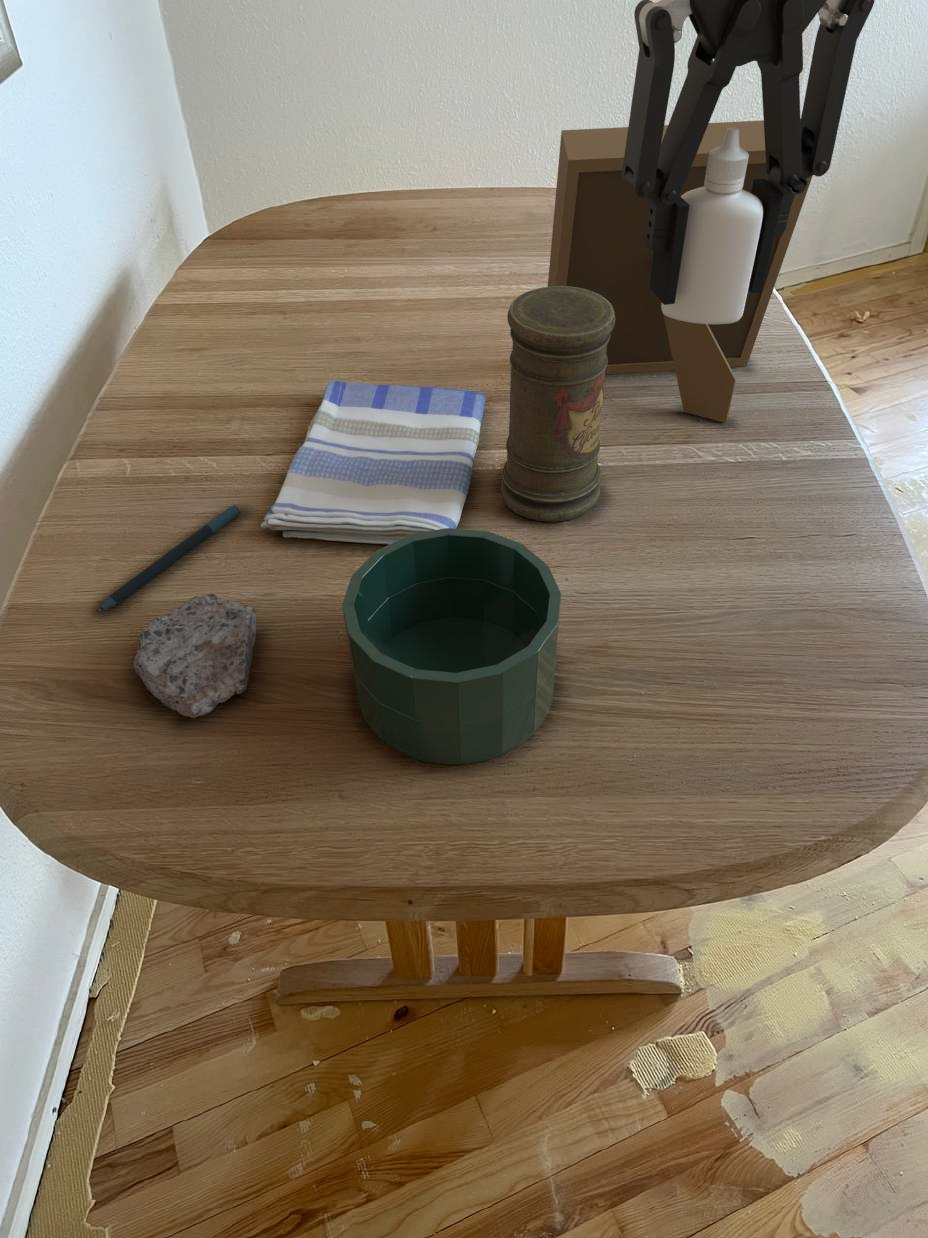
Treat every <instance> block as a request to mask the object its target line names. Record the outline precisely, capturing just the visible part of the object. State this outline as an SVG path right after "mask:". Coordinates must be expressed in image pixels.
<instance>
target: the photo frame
mask: <svg viewBox="0 0 928 1238" xmlns="http://www.w3.org/2000/svg"><path fill="white" fill-rule="evenodd" d="M800 121H801V118H800ZM668 125H669V124H664V130H663V136H662V141H663V138H664V135H665V133H666V130H667V127H668ZM729 127H737V128H739V145H740V147H741V148H742V149H744V150H746V151H747V152H748V154H749V158H748V163H747V168H746V174H745V179H744V184H743V188H742V189H743V190H745V191H747V192H749V193H751V190H752V185H753V180H754V179H762V178H764V179H766V180H767V181H768V179H769V175H768V174H767V170H766V153H765V135H764V119H763V120H748V121H747V120H745V121H744V120H743V121H726V122H724V121H722V122H721V121H720V122H709V124H708V126H707V129H706V131H705V134H704V136H703V139H702V141H701V144H700V146H699V149H698V151H697V154H696V156H695V159H694V161H693V164H692V166H691V169H690V171H689V174H688V176H687V179H686V181H685V184H684V186H683V189H682V191H681V194H680V196H682V195H683V194H685V193H686V192H688V191H691V190H693V189H696V188H700V187H704V181H705V175H706V169H707V163H708V156H709V152H710V151H711V150H712V149H714V148H717V147H719V146H721V144H722V143H723V140H724V137H725V134H726V131H727V129H728V128H729ZM560 133H561V134H560V143H559V155H558V164H557V166H558V167H557V176H556V177H557V178H556V188H555V189H556V190H555V200H554V212H553V222H552V233H551V245H550V255H549V267H548V278H547V287H552V286H570V287H577V288H582V289H586V290H589V291H592V292H595V293H597V294H599V295H601V296H602V297H604V298H605V299H607V300H608V301H609V302H610V304H611V305H612V307H613V309H614V312H615V325H614V327H613V329H612V331H611V332H610V339H609V341H608V343H607V349H606V355H607V359H608V363H607V366H606V368H605V375H617V374H632V373H633V374H634V373H648V372H650V373H651V372H666V371H667V372H668V371H674V372H675V376H676V381H677V387H678V391H679V396H680V400H681V406H682V410H683V413H687V414H691V415H695V416H699V417H705V418H708V419H713V420H716V421H721V422H724V423H726V422H728V419H729V413H730V410H731V405H732V400H733V396H734V391H735V388H736V383H737V377H736V375H735V373H734V372H733V370H732V368H734V367H735V368H736V367H747V366H748V363H749V361H750V358H751V355H752V352H753V349H754V347H755V343H756V341H757V337H758V334H759V332H760V329H761V326H762V323H763V321H764V318H765V315H766V311H767V308H768V306H769V303H770V300H771V297H772V295H773V291H774V288H775V285H776V282H777V280H778V277H779V274H780V272H781V268H782V266H783V262H784V260H785V256H786V254H787V251H788V249H789V246H790V242H791V239H792V237H793V234H794V231H795V228H796V225H797V223H798V219H799V217H800V214H801V211H802V208H803V205H804V201H805V199H806V197H807V194H808V191H809V188H810V185H811V182H812V179H813V176H811V177H809V178H807V179H806V180H807V181H808V184H807V187H806V189H805V190H804V191H803V192H802V193H800V194H798V195H794V196H793V200H792V204H791V209H790V213H789V217H788V222H787V226H786V229H785V231H784V233H783V235H782V237H776V238H774V239H773V244H772V248H771V253H770V257H769V262H768V266H767V271H766V275H765V280H764V284H763V289H762V292H755V293H751V292H750V291H749V290H748V293H747V297H746V302H745V307H744V312H743V315H742V317H741V318H740V320H739V321H737V322H734V323H729V324H698V323H690V322H685V321H680V320H677V319H673V318H670V317H668V316H666V315H664V314H663V312H662V309H661V305H662V302H661V301H660V299H659V298H658V297H657V296H656V295H655V294H654V292H653V291H652V290H651V289H650V288H649V286H650V279H651V271H652V263H653V256H654V253H653V252H652V251H651V250H650V249H649V248H648V247H647V245H646V243H645V240H644V233H645V224H646V216H647V208H648V198H647V197H645V198H640V197H639V196H637V195H636V194H635V193H634V192H633V191H632V190H631V189H630V188H629V187H628V185H627V184H626V183H625V182H624V181H623V179H622V169H623V161H624V154H625V147H626V140H627V133H628V126H623V127H622V126H621V127H620V126H619V127H603V128H602V127H601V128H599V127H598V128H582V129H581V128H580V129H579V128H578V129H562V130H561V132H560ZM661 143H662V142H661Z"/></svg>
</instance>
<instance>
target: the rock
mask: <svg viewBox="0 0 928 1238" xmlns="http://www.w3.org/2000/svg"><path fill="white" fill-rule="evenodd" d="M256 635H257V613H256V610H255V608H254V607H253V606H250V605H245V606H242V605H241V604H240V603H239V602H237V601H234V600H230V599H228V600H226V599H223V598H221V597H218V596H217V594H215V593H206V594H203V595H196V596H195V595H194V596H193V597H191V598H188V599H187V600H186V601H184V602H183V603H182V604H181V605H180V606H179V607H177V608H176V609H173V610H171V611H170V612H169V613H167V614H162V615H161V614H160V615H158V616H155V617H154V618H152V619H151V620H150V621H149V623H148V625H147V626H145V627H144V628H142V629H141V630H140V632H139V636H138V639H137V641H138V644H137V646H136V648H137V650H136V653H135V656H134V658H133V668H134V671H135V673H136V675H137V676H138V677H139V678H140V679H141V680H142V683H143V684H144V686H145V687H146V689H147V690H148V691H149V692H150V693H151V694H152V696H153V697H154V698H156V699H157V700H159V701H160V702H161V704H162V705H163V706H164V707H167V708H169V709H170V710H172V711H176V712H177V713H178V714H180V715H181V716H183V717H186V718H187V717H188V718H189V717H190V718H192V719H196V718H197V717H198V718H199V717H201V716H207V715H209V714H210V713H211V712H213V710H214V709H215V708H216V706H218V705H219V703H225V702H226V701H228V700H229V699H230V698H231V697H233V696H234V695H236V694H237V695H240V694H242V693H244V692H245V691H246V690H247V687H248V684H249V680H250V674H251V666H252V663H253V654H254V649H255V642H256V638H257V637H256Z"/></svg>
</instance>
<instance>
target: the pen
mask: <svg viewBox="0 0 928 1238" xmlns="http://www.w3.org/2000/svg"><path fill="white" fill-rule="evenodd" d="M240 513H241V509H240V507H238V505H232V506H229V507H228V508H227V509H225V510H224V511H222V512H221V513H220V514H218V515H217V516H215V517H214V518H213V519H212V520H210V521H209V522H207V523H206V524H204V525H203V526H202V527H200V528H199V529H197V531H195V532H194V533H193V534H191V535H190V536H188V537H187V538H186V539H184V540H183V541H181V542H180V543H179V544H178V545H176V546H175V547H174V548H172V549H171V550H169V551H168V552H166V553H165V554H164V555H162V556H161V557H160V558H158V559H157V560H155V561H154V562H153V563H151V564H150V565H149V566H148V567H146V568H145V569H144V570H142V571H140V572H139V573H138V574H137V575H135V576H134V577H132V578H131V579H130V580H128V581H127V582H126V583H124V584H123V585H122V586H120V587H119V588H118V589H117V590H115V591H113V592H112V593H111V594H109V595H108V597H107V598H106V600H105V601H104V602H103V604H102V605H101V606H100V609H98V612H102V611H106V610H109V609H111V608H113V607H117V606H118V605H120V604H121V603H123V602H124V601H125V600H128V598H129V597H131V596H132V595H133V594H135V593H136V592H137V591H139V590H140V589H142V588H143V587H144V586H145V585H147V584H148V583H150V582H151V581H152V580H153V579H155V578H157V577H158V576H159V575H161V574H162V573H164V571H166V570H167V569H168V568H169V567H171V566H173V564H175V563H176V562H178V561H179V560H180V559H181V558H183V557H184V556H186V555H187V554H189V553H190V552H191V551H192V550H193V549H195V548H197V547H198V546H199V545H200V544H202V543H203V542H204V541H206V540H207V539H209V538H210V537H211V536H212V535H214V534H215V533H217V532H218V531H219V530H220V529H222V528H223V527H224V526H226V525H227V524H228V523H229V522H231V521H232V520H234V519H235V518H236V517H238V515H239V514H240Z"/></svg>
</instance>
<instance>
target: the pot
mask: <svg viewBox="0 0 928 1238" xmlns="http://www.w3.org/2000/svg"><path fill="white" fill-rule="evenodd" d="M561 602H562V592H561V589H560V588H559V585H558V583H557V581H556V580H555V577H554V575H553V573H552V571H551V569H550V567H549V565H548V563H546V562H545V561H544V560H542V559H541V558H540V557H538V555H536V554H535V553H534V552H533V551H531V550H530V549H529V548H527V547H526V546H525V545H524V544H522V543H520V542H518V541H515V540H512V539H509V538H507V537H504V536H502V535H499V534H496V533H493V532H490V531H488V530H481V529H480V530H479V529H466V528H456V529H454V528H448V529H447V528H444V529H439V530H433V531H428V532H422V533H417V534H411V535H408V536H406V537H404V538H402V539H400V540H398V541H396V542H394V543H392V544H386V546H384V547H381V548H379V549H377V550H376V551H373V553H372V554H371V555H370V556H369V557H368V558H367V559H366V560H365V561H364V562H363V563H362V564H361V565H360V567H359V568H357V569H356V570H355V571H354V572H353V574H352V575H351V576H350V579H349V583H348V586H347V588H346V591H345V594H344V598H343V600H342V603H341V607H342V614H343V620H344V625H345V631H346V638H347V643H348V644H347V645H348V650H349V655H350V662H351V663H350V664H351V667H352V675H353V680H354V687H355V691H356V694H357V699H358V705H359V708H360V713H361V715H362V718H364V720H365V722H366V723H367V725H368V726H369V728H370V729H371V731H372V732H373V733H374V734H375V735H376V736H377V738H379V739H380V740H381V741H382V742H383V743H385V744H386V745H387V746H389V748H392V749H394V750H395V751H396V752H398V753H401V754H402V755H405V756H407V757H410V758H412V759H415V760H419V761H423V762H424V763H425V762H426V763H432V764H436V765H449V766H450V765H451V766H457V765H459V766H460V765H469V764H476V763H482V762H486V761H488V760H493V759H496V758H498V757H500V756H503V755H505V754H507V753H509V752H511V751H513V750H515V749H516V748H518V747H519V746H521V745H522V744H524V742H526V741H527V740H529V738H531V737H532V735H534V734H535V733H536V732H537V730H538V729H539V727H540V726H541V725H542V724H543V723H544V721H545V719H546V717H547V716H548V714H549V711H550V708H552V707H551V706H552V705H553V699H554V689H555V679H556V666H557V654H558V641H559V627H560V617H561V615H560V614H561V604H562V603H561Z"/></svg>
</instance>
